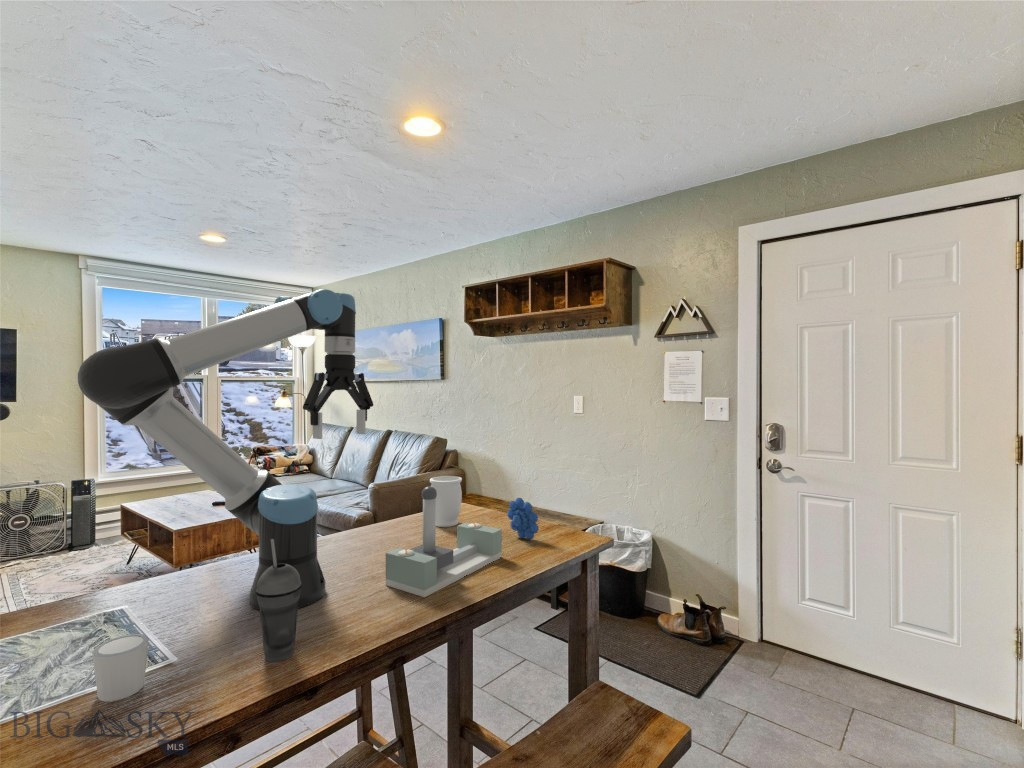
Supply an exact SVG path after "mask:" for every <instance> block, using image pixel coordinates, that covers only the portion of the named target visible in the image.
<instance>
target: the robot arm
mask: <svg viewBox="0 0 1024 768" xmlns="http://www.w3.org/2000/svg"><path fill="white" fill-rule="evenodd" d="M355 299H356V298H355V297H354V296H353V295H352V294H349V293H344V292H335V291H334V290H331V289H327V288H325V289H324V288H322V289H321V288H320V289H316V290H312V292H308V293H305V294H303V295H299V296H297V297H295V296H291V295H288V296H285V295H284V296H283V295H282V296H281V295H280V296H277V297H276V299H275V301H274V303H273V305H268V306H266V307H263V308H260V309H257V310H254V311H251V312H248V313H245V314H242V315H239V316H236V317H233V318H230V319H227V320H224V321H220V322H218V323H217V322H216V323H215V324H212V325H211V324H210V325H208V326H205V327H202V328H199V329H196V330H193V331H191V332H187V333H184V334H181V335H177V336H173V337H172V338H169V339H163V338H160V337H154V338H151V339H148V340H144V341H140V342H136V343H131V344H128V345H119V346H113V347H107V348H104V349H100V350H98V351H96V352H94V353H93V354H91V355H89V356H88V358H86V359H85V360H83V362H82V363H81V365H80V367H79V370H78V372H77V383H78V387H79V388H80V391H81V392H82V394H83V395H84V397H86V398H87V399H88V400H90V401H91V402H92V403H95V404H96V405H98V407H99V408H101V409H102V410H103V411H105V412H106V413H107V414H108V415H109V416H111V417H112V418H114V420H116V421H117V422H118V423H119V424H121V425H122V426H134V427H135V426H136V427H138V428H139V429H140V430H142V431H143V433H145V434H146V435H147V436H148V437H150V438H151V439H152V440H154V441H155V442H156V443H158V445H160V446H161V447H162V448H163V449H164V450H165V451H167V452H168V453H169V454H170V455H171V456H173V457H174V458H175V459H176V460H178V461H179V462H180V463H182V464H183V465H184V466H185V467H186V468H188V470H190V471H191V472H192V473H194V474H195V475H196V476H197V477H199V479H201V480H202V481H203V482H204V483H206V484H207V485H208V486H209V487H210V488H211V489H212V490H214V491H216V492H217V493H218V494H219V495H220V496H221V497H223V498H224V500H225V502H224V509H226V510H227V511H228V512H229V513H230V514H232V515H233V516H234V517H235V518H236V519H238V520H239V521H240V523H241V522H242V524H243V525H244V526H245V527H246V528H248V529H249V530H251V531H252V532H253V533H255V534H256V536H258V567H257V570H256V573H255V576H254V579H253V582H252V585H251V588H250V590H249V591H250V592H249V605H250V606H251V608H253V607H254V608H253V609H255V610H257V609H258V610H257V611H260V607H259V605H258V600H257V595H256V589H257V584H258V581H259V578H260V577H261V575H262V574H263V572H264V571H265V570H266V569H268V568H269V567H271V566H273V565H274V564H273V555H272V547H271V539H274V545H275V553H276V562H277V564H280V563H284V564H288V565H291V566H292V567H294V568H295V569H296V570H297V572H298V573H299V575H300V580H301V584H302V587H301V592H300V597H299V600H298V609H300V608H304V607H306V606H309V605H311V604H314V603H316V602H317V601H319V600H321V599H322V598H323V597H324V595H325V594H326V579H325V577H324V573H323V571H322V568H321V566H320V562H319V559H318V509H319V504H318V500H317V499H318V498H317V493H316V491H315V490H314V489H312V487H309V486H307V485H299V484H294V483H293V484H290V483H289V484H288V483H285V484H282V483H281V482H280V481H279V480H278V479H277V478H276V477H275V476H273V474H272V473H271V472H269V471H268V470H267V469H255V468H254V467H253V466H252V465H251V464H250V463H248V462H247V461H246V460H245V459H244V458H243V457H241V455H239V453H237V452H236V451H235V450H234V449H233V448H232V447H230V445H228V444H227V443H226V442H225V441H224V440H222V439H221V438H220V437H219V436H218V435H217V434H216V433H215V432H213V431H212V430H211V429H210V428H209V427H208V426H207V425H205V423H204V422H202V421H201V420H200V419H199V418H198V417H197V416H195V414H194V413H192V412H191V411H190V410H188V408H187V407H185V406H184V405H183V404H182V403H181V402H179V400H178V399H176V397H174V387H177V386H180V385H182V383H183V382H184V380H185V378H186V377H187V376H190V375H193V374H195V373H198V372H201V371H204V370H207V369H208V368H212V367H214V366H217V365H219V364H222V363H226V362H227V361H231V360H232V359H235V358H237V357H240V356H243V355H246V354H249V353H251V352H254V351H257V350H259V349H261V348H264V347H268V346H269V345H270V346H271V345H273V344H275V343H277V342H280V341H283V340H286V339H288V338H291V337H293V336H296V335H299V334H301V333H303V332H307V331H310V330H319V331H320V330H321V331H324V353H326V354H325V355H324V369H325V372H323V371H321V372H319V371H318V372H315V373H314V374H313V375H314V376H313V381H312V385H311V387H310V389H309V392H308V394H307V396H306V399H305V401H304V404H303V405H302V410H304V411H307V412H308V413H310V414H309V415H310V420H309V421H310V423H309V424H310V426H312V439H315V440H316V439H317V440H322V439H323V412H320V411H321V410H322V409H323V407H324V405H325V404H326V402H327V400H328V399H329V398H330V396H331V395H332V394H333V392H335V391H346V392H347V393H348V394H349V396H350V397H351V399H352V400H353V402H354V403H355V405H356V406H357V407H358V409H356V434H358V435H366V422H367V421H368V410H370V409H371V407H374V402H373V399H372V397H371V394H370V390H369V389H368V386H367V384H366V381H365V373H363V372H354V371H355V369H356V356H355V355H354V354H355V353H356V314H357V312H356V311H357V309H356V300H355ZM325 381H326V383H325ZM324 383H325V384H324ZM323 385H324V386H323Z"/></svg>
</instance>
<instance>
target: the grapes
mask: <svg viewBox="0 0 1024 768" xmlns="http://www.w3.org/2000/svg"><path fill="white" fill-rule="evenodd" d="M508 505H509V509H508V511H507V513H506V515H507V518H508V519H509V520H511V521H510V525H509V526H510V528H511V530H512V531H515V532H516V531H517V532H516V533H517V536H518V538H520V539H522V538H523V539H525V538H526V539H527V540H533V539H534V537H535V534H537V533H538V532H539V524H537V522H538V521H539V515H538V514H537V513H536V512H535V511H533V506H532V504H531V503H530V502H529V501H524V500H523V498H522V497H517V498H516V499H515V500H511V501H510V502H509V504H508Z"/></svg>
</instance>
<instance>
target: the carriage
mask: <svg viewBox="0 0 1024 768" xmlns="http://www.w3.org/2000/svg"><path fill="white" fill-rule="evenodd" d="M436 496H437V491H436V489H435V488H434V487H431V485H430V486H426V487H424V488H423V489H422V490H421V498H422V543H421V544H420V545H418V546H415V547H413V548H410V549H409V550H413V551H414V552H416V553H420V554H424V555H428V556H432V557H436V558H437V570H439V569H441V568H443V567H445V566H447V565H449V564H452V563H453V549H449V548H446V547H442V546H437V543H436V542H437V541H436V539H437V537H436V534H437V533H436V528H437V526H436Z"/></svg>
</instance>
